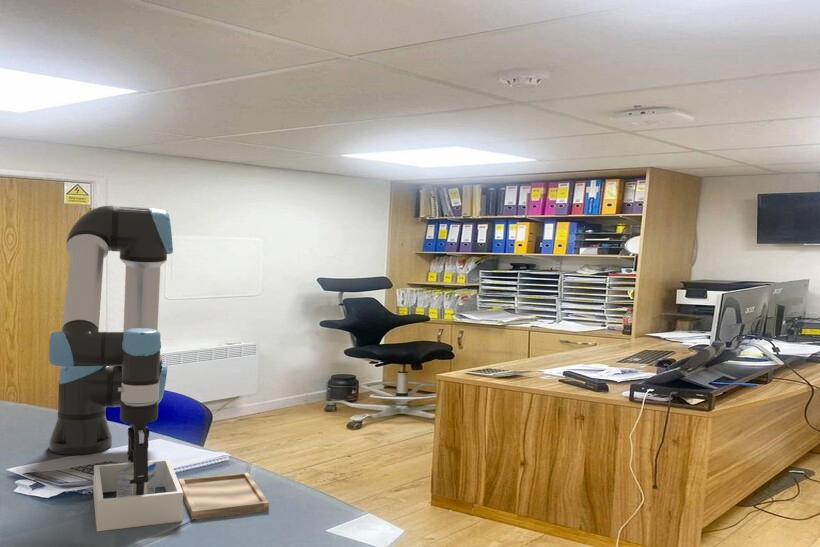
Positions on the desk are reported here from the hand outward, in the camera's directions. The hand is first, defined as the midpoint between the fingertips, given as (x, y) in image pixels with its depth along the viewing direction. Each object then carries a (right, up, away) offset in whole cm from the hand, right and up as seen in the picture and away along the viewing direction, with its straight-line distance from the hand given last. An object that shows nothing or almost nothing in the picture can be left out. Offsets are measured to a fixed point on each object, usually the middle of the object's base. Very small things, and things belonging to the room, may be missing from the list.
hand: (135, 501), depth 151 cm
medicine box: (0, -1, 0) cm, 1 cm away
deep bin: (0, -1, 0) cm, 1 cm away
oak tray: (+17, -2, +7) cm, 18 cm away
